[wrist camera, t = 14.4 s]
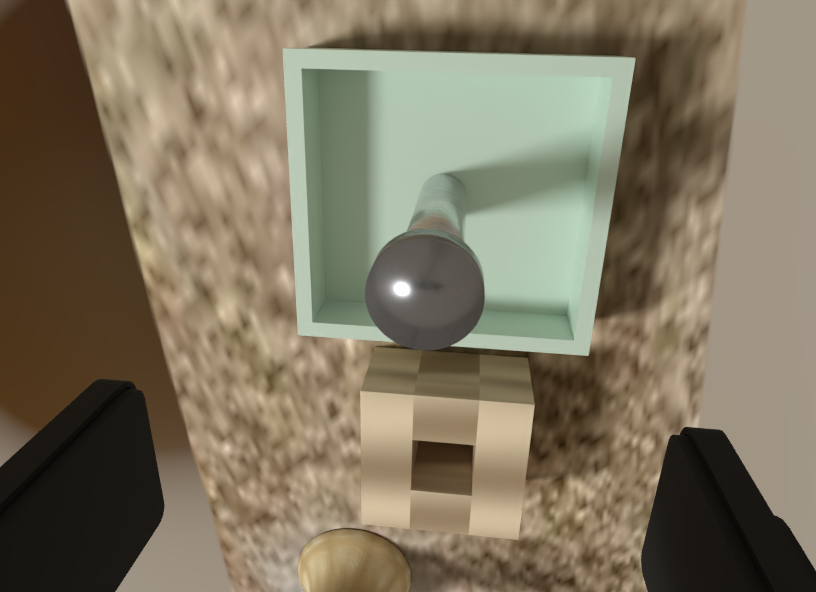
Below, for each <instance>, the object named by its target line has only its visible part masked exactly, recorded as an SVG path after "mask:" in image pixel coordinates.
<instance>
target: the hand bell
mask: <svg viewBox="0 0 816 592" xmlns="http://www.w3.org/2000/svg"><path fill="white" fill-rule="evenodd" d="M298 575H299V579H300V582H301V585H302V587H303V589H304V591H305V592H409V590H410V587H411V582H412V576H411V570H410V567H409V564H408V562H407V560H406V559H405V557H404V555H403V554H402V553H401V552H400V551H399V550H398V549H397V548H396V547H395V546H394V545H393V544H392V543H390V542H389V541H387V540H386V539H384V538H382V537H380V536H378V535H375V534H373V533H370V532H367V531H362V530H356V529H337V530H332V531H328V532H326V533H322V534H320V535H318V536H316V537H315V538H313V539H312V540H311V541H309V542H308V543H307V544H306V546H305V547H304V548H303V550H302V552H301V554H300V557H299V560H298Z"/></svg>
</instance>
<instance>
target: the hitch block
mask: <svg viewBox="0 0 816 592" xmlns="http://www.w3.org/2000/svg"><path fill="white" fill-rule="evenodd" d="M360 394H361V504H362V524H366V525H376V526H387V527H397V528H407V529H417V530H427V531H437V532H447V533H457V534H467V535H477V536H487V537H497V538H507V539H517V540H518V537H519V529H520V520H521V512H522V504H523V496H524V488H525V480H526V472H527V464H528V456H529V448H530V439H531V431H532V423H533V415H534V407H535V403H534V396H533V390H532V383H531V376H530V370H529V363H528V358H524V357H510V356H496V355H482V354H468V353H454V352H441V351H427V350H413V349H399V348H385V347H375V350H374V353H373V356H372V359H371V362H370V365H369V368H368V371H367V373H366V376H365V379H364V382H363V385H362V388H361V391H360Z"/></svg>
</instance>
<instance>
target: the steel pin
mask: <svg viewBox="0 0 816 592" xmlns="http://www.w3.org/2000/svg"><path fill="white" fill-rule="evenodd" d="M466 198H467V195H466V190H465V187H464V185H463V184H462V182H461V181H460V180H459V179H458V178H456V177H455V176H453V175H450V174H437V175H434V176H432V177H430V178H429V179H428V180H427V181H426V182H425V183H424V184H423V186H422V189H421V191H420V194H419V197H418V200H417V203H416V206H415V209H414V212H413V215H412V218H411V220H410V223H409V226H408V229H407V232H404V233H402V234H400V235H398V236H396V237H394V238H393V239H392V240H390V241H389V242H388V243H387V244H386V245H385V246H384V247H383V248H382V249H381V251H380V252H379V253H378V255H377V257H376V259H375V261H374V263H373V265H372V268H371V270H370V272H369V275H368V278H367V281H366V286H365V301H366V306H367V309H368V312H369V315H370V317H371V319H372V320H373V322H374V323H375V325H376V326H377V328H378V329H379V330H380V331H381V332H382V333H383V334H384V335H385V336H387V337H388V338H389V339H391V340H392V341H394V342H396V343H398V344H400V345H402V346H405V347H407V348H411V349H416V350H438V349H442V348H446V347H448V346H451V345H453V344H455V343H457V342H459V341H460V340H462V339H463V338H465V337H466V336H467V335H468V334H469V333H470V332H471V331H472V330H473V329H474V328H475V326H476V325H477V323H478V321H479V319H480V317H481V315H482V312H483V308H484V302H485V288H484V275H483V270H482V267H481V264H480V262H479V259H478V258H477V256H476V254H475V253H474V252H473V250H472V249H471V248H470V247H469V246H468V245H467V244H466V243H465V223H466Z"/></svg>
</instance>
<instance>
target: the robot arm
mask: <svg viewBox="0 0 816 592" xmlns="http://www.w3.org/2000/svg"><path fill="white" fill-rule="evenodd" d="M163 512H164V500H163V494H162V489H161V483H160V478H159V472H158V467H157V461H156V456H155V451H154V446H153V440H152V435H151V429H150V424H149V418H148V413H147V407H146V402H145V397H144V394H143V393H142V391H140V390H137V389H136V387H135V385H134V384H133V383H132V382H130V381H120V380H107V379H99V380H96V381H95V382H93V383H92V384H91V385H90V386H89V387H88V388H87V389H86V390H85V391H84V392H82V393H81V394H80V395H79V396H78V397H77V398H76V399H75V400H74V401H72V402H71V403H70V405H68V406H67V407H66V408H65V409H64V410H63V411H61V412H60V413H59V414H58V415H57V416H56V417H55V418H54V419H53V420H52V421H51V422H49V423H48V424H47V425H46V426H45V427H44V428H43V429H42V430H41V431H39V432H38V433H37V434H36V435H35V436H34V437H33V438H32V439H31V440H30V441H28V443H26V444H25V445H24V446H23V447H22V448H21V449H20V450H19V451H18V452H17V453H15V454H14V455H13V456H12V457H11V458H10V459H9V460H8V461H7V462H5V463H4V464H3V465H2V466H1V467H0V592H115V591H116V590H117V588H118V587H119V585H120V583H121V582H122V581H123V579H124V577H125V576H126V574H127V573H128V571H129V570H130V568H131V567H132V565H133V564H134V562H135V561H136V559H137V558H138V556H139V555H140V553H141V551H142V550H143V548H144V547H145V545H146V544H147V542H148V541H149V539H150V538H151V536H152V535H153V533H154V532H155V530H156V528H157V527H158V525H159V523H160V522H161V519H162V516H163ZM641 566H642V573H643V577H644V580H645V584H646V587H647V590H648V592H816V571H815V569H814V567H813V566H812V564H811V562H810V561H809V559H808V558H807V556H806V554H805V553H804V551H803V550H802V548H801V546H800V545H799V543H798V541H797V540H796V538H795V536H794V535H793V533H792V531H791V530H790V528H789V527H788V526H787V524H786V523H785V522H784V521H783V520H782V519H781V518H779V517H777V516H774V515H773V513H772V511H771V510H770V508H769V506H768V505H767V503H766V501H765V500H764V498H763V496H762V495H761V493H760V492H759V490H758V488H757V486H756V485H755V483H754V481H753V480H752V478H751V476H750V475H749V473H748V471H747V470H746V468H745V466H744V465H743V463H742V461H741V460H740V458H739V456H738V454H737V453H736V451H735V449H734V448H733V446H732V444H731V443H730V441H729V439H728V438H727V436H726V435H725V433H724V432H723V431H721V430H716V429H704V428H692V427H685V428H683V430H682V431H681V433H680V435H671V437H670V439H669V442H668V445H667V450H666V454H665V458H664V462H663V466H662V470H661V474H660V479H659V483H658V487H657V491H656V495H655V499H654V503H653V508H652V512H651V516H650V520H649V524H648V528H647V532H646V537H645V541H644V545H643V549H642V555H641Z"/></svg>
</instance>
